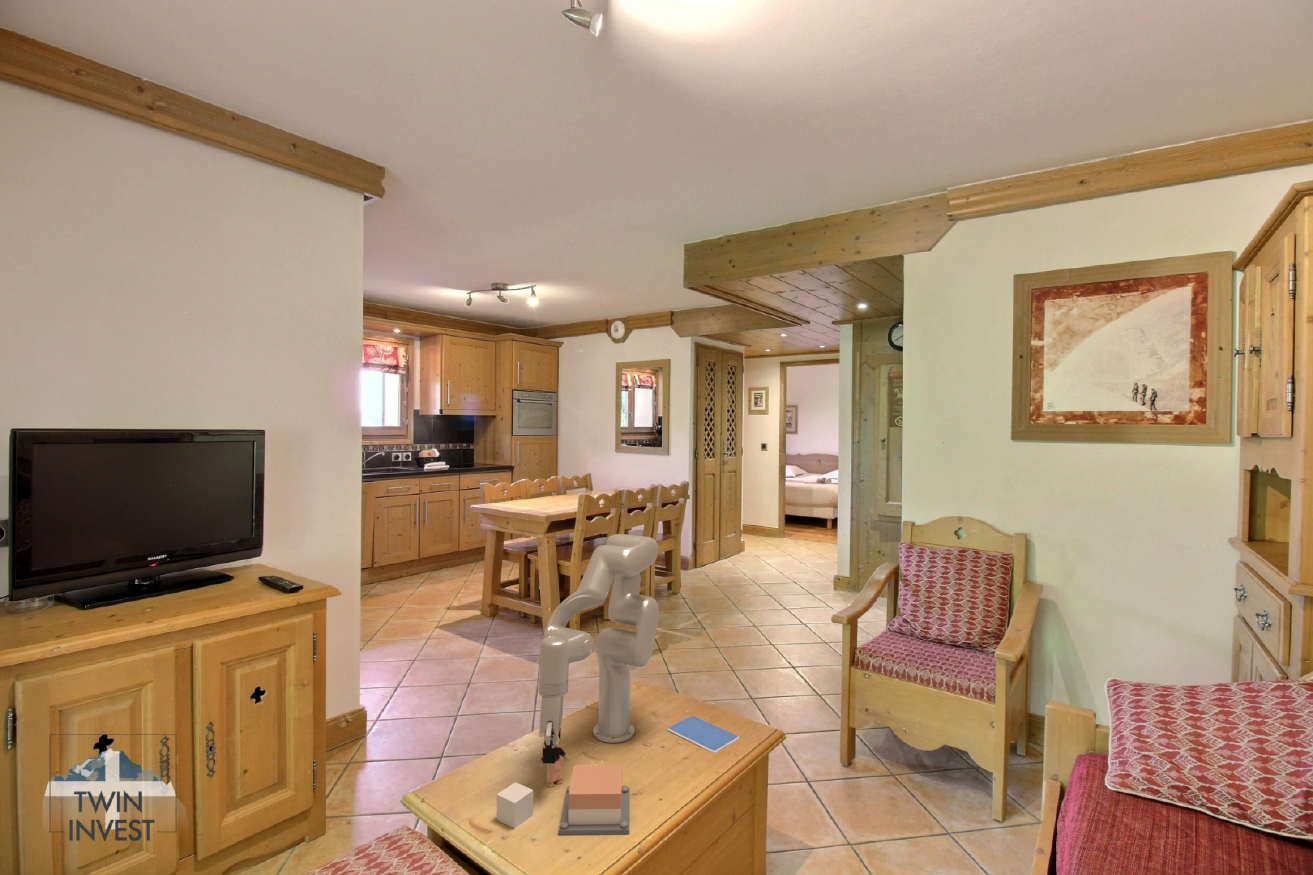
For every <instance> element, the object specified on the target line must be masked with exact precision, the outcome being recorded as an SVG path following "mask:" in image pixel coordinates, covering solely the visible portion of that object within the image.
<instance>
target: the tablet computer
mask: <svg viewBox="0 0 1313 875" xmlns="http://www.w3.org/2000/svg"><path fill="white" fill-rule="evenodd" d="M666 731H668V732H669V733H672V734H674V735H676V736H679V737H681V738H682V739H684V740H686V741H688V742H689V743H691V744H692V743H693V744H694V745H696V746H698V747H701V749H704V750H706V751H708V752H710V753H712V754H717V753H719V752H720V751H722V750H723V749H725V748H727V747H729V746H731V745H732V744H734V743H735V742H738V741H739V740H740V736H739V735H737V734H736V733H733V732H731V731H728V730H726V729H724V728H721V727H719V726H717V725H715V724H713V723H710V722H709V721H706V720H704V719H702V718H700V717H697V716H696V715H689V716H688V717H685V718H683V719H682V720H680V721H677V722H676V723H673V724H672V725H670V726H668V727H667V728H666Z"/></svg>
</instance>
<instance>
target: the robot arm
mask: <svg viewBox="0 0 1313 875" xmlns="http://www.w3.org/2000/svg"><path fill="white" fill-rule="evenodd" d="M658 556H659V544H658V542H657V541H656V539H654V538H652V537H650V536H642V535H635V534H627V533H626V534H625V533H615V534H612V535H610V536H609V537H607V540H606V542H605V545H599V546H597V547H596V548H595V549H594V551H593V552H592V554H591V556H590V559H589V561H588V564H587V567H586V568H585V571H584V573H583V576H582V579H581V581H580V583H579V584H578V587H577V589H576V590H575V591H574V592H573V593H572V594H570V595H569V596H567V597H566V598H565V599H564V600H563V601H561V603H560V604H558V605H557V606H556V608H554V610H553V611H552V613H551V615H550V617H549V620H548V622H547V624H546V627H545V629H544V631H543V635H542V639H541V641H540V644H539V663H538V665H539V666H538V694H539V696H541V702H540V713H539V714H540V715H539V731H538V735H539V737H540V738H542V737H543V745H542V757H543V758H542V757H541V759H542V762H543V763H544V764H543V765H545V764H554V763H555V761H556V746H555V738H556V737H557V736H559V739H560V740H561V736H562V734H561V733H562V732H561V730H562V729H561V727H562V721H563V715H564V696H565V695H567V694H568V693H569V665H570V664H571V663H575V662H580V661H583V660H585V659H587V658H589V656H590V655H591V654H592V653H593V650H594V647H595V649H596V654H597V662H598V716H597V718H598V722H597V723H596V724H595V726H594V727H593V730H592V733H593V736H594V738H595V739H597V740H598V741H601V742H603V743H609V744H610V743H611V744H613V743H615V744H617V743H622V742H626V741H628V740H631V739H632V738H633V737H634V735H635V726H634V725H633V723H631V722H630V721H631V719H630V718H631V672H630V669H629V668H630V667H629V666H633V667H639V668H641V667H645V666H647V664H648V663H649V662H650V660H651V658H652V655H653V650H654V646H655V645H654V644H655V640H656V633H657V628H658V622H659V615H660V610H659V608H660V607H659V604H658V601H657V600H656V599H655V598H654V597H652V596H650V595H645V594H640V591H641V590H640V589H641V585H642V584H641V582H642V576H641V573H642V572H643V571H644V570H646V569H647V568H650V566H652V565H653V564H654V563H655V562H656V561H657V558H658ZM611 586H612V587H611ZM611 588H612V589H611ZM610 589H611V593H610V599H609V603H608V610H607V613H608V614H607V616H608V619H609V620H610V621H611V622H612V623H616V624H619V625H624V626H631V627H635V628H636V629H635V630H636V631H635V630H634V631H632V630H628V629H623V628H618V627H605V628H604V629H602V630H600V632H598V635H597V637H596V640H595V641H594V638H593V636H592V635H591V634H590V633H588V632H587V631H583V630H578V629H574V628H568V627H566V626H567V624H568V623H569V621H570V620H571V619H572V618H574V616H575V615H576V614H579V613H580V612H582V611H585V610H588V609H591V608H594V607H596V606H600V605H602V604H604V603H605V602H606V600H607V597H608V595H609V592H610ZM628 665H629V666H628ZM551 738H553V741H552V740H551ZM552 742H553V743H552ZM560 744H561V742H560V743H559V744H558V745H560Z"/></svg>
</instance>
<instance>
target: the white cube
mask: <svg viewBox="0 0 1313 875" xmlns="http://www.w3.org/2000/svg"><path fill="white" fill-rule="evenodd" d="M532 816H534V790H533V789H531V788H529V787H527V786H525V785H524V784H523V785H522V784H520V783H518V782H516V781H514V782H513V783H512V784H511V785H509V786H507V787H505V788H504V789H502V790H501V791H499V792H498V793H497V794H496V820H497V821H498V822H500V823H502V824H505V825H506V826H508V827H511V828H512V829H516V828H518V827H519V826H520V825H521V824H523V823H524V822H525V821H527V820H529V818H531V817H532Z"/></svg>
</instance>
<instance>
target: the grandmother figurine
mask: <svg viewBox="0 0 1313 875" xmlns="http://www.w3.org/2000/svg"><path fill="white" fill-rule="evenodd" d="M551 740H552V741H553V738H551ZM552 743H553V742H552ZM559 743H560V744H561V738H560V739H559V736H557V737H556V738H555V746H556V761H555V763H554V764H547V767H546V768H547V769H546V770H547V771H546V775H547V776H546V778H547V779H546V781H545V786H546V787H548V788H553V787H555V786H556V785H562V784H563V776H562V765H561V757H562V758H563V761H565V762H567V761H568V759H569V758H568V756H567V753H566V752H565V751H564V749H563V748H562V747H560V746H559V747H558V745H560V744H559ZM560 756H561V757H560ZM542 758H543V756H542V757H541V759H540V763H539V765H538V767H539V768H540V769H542V768H543V767H544V765H545V764H544V763H543V762H542ZM555 784H556V785H555Z"/></svg>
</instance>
